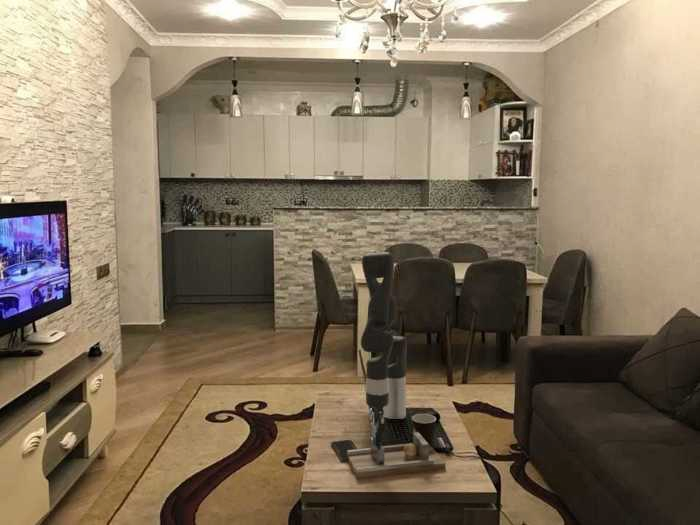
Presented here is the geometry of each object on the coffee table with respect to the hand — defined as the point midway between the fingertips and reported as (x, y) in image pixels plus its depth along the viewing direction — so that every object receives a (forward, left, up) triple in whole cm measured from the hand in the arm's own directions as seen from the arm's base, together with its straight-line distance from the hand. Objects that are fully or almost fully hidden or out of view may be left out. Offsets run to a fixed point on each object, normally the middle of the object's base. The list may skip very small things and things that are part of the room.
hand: (377, 439), depth 199 cm
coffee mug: (-13, +21, -9) cm, 27 cm away
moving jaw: (0, 0, -7) cm, 7 cm away
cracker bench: (0, +6, -9) cm, 11 cm away
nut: (0, +12, -7) cm, 14 cm away
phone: (-13, -8, -10) cm, 18 cm away
